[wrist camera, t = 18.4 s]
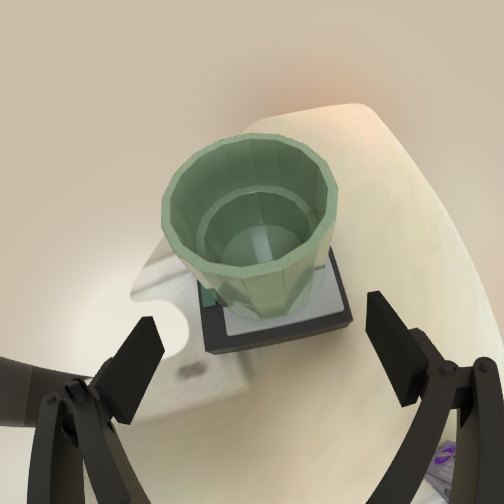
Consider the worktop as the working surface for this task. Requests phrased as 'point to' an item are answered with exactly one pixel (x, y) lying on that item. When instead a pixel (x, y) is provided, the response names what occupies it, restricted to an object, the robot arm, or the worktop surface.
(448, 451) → the cake pan box
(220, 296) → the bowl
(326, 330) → the scale
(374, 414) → the worktop surface
